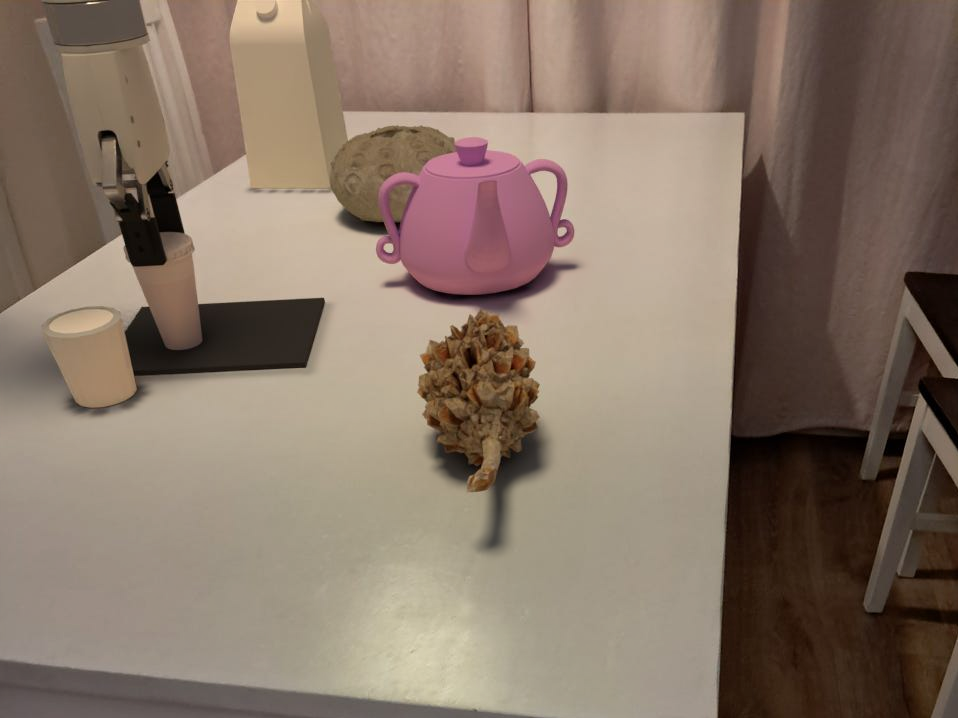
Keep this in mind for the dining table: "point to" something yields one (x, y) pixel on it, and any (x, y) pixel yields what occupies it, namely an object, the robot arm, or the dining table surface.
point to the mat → (230, 338)
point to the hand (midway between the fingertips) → (159, 249)
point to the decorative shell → (383, 167)
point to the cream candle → (92, 355)
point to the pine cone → (480, 393)
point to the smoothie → (173, 291)
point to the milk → (286, 92)
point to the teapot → (474, 221)
